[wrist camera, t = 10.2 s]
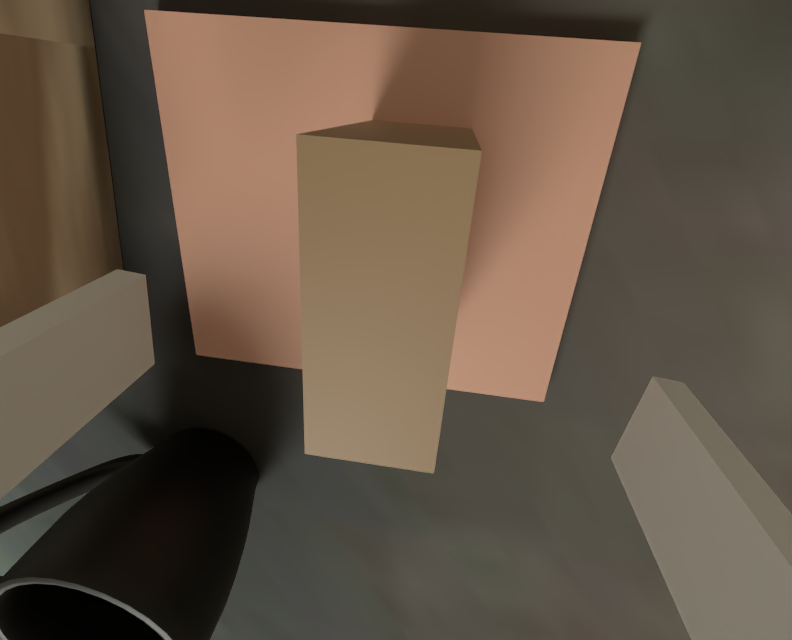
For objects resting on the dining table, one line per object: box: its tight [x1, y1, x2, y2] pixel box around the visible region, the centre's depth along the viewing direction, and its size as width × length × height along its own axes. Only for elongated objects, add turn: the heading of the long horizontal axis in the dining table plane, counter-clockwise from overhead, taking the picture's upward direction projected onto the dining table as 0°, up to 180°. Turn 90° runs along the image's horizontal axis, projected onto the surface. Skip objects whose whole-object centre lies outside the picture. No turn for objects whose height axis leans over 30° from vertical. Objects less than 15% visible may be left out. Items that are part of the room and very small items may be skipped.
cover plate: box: [144, 10, 641, 473], centre depth 14 cm, size 16×14×9 cm
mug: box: [0, 428, 258, 640], centre depth 21 cm, size 8×12×10 cm
